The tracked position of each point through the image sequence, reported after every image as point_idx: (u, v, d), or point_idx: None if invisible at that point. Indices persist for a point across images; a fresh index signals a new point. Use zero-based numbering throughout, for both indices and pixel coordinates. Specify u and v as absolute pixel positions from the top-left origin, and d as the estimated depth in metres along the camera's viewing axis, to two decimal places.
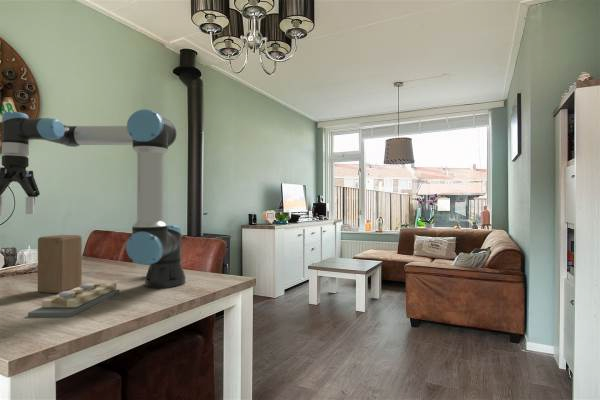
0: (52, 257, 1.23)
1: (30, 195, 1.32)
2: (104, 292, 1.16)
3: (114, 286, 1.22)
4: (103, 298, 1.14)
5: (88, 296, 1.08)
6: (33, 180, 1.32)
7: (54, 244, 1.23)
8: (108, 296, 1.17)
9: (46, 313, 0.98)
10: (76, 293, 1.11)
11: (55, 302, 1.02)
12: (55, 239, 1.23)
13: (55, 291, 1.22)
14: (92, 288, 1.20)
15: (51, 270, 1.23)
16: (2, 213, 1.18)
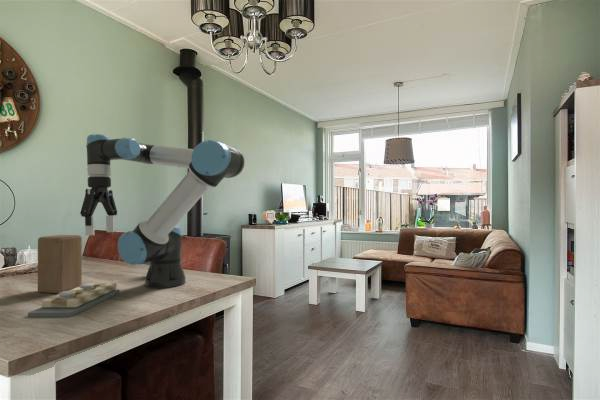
0: (53, 257, 1.23)
1: (110, 214, 1.37)
2: (104, 292, 1.16)
3: (114, 286, 1.22)
4: (103, 298, 1.14)
5: (88, 296, 1.08)
6: (112, 199, 1.36)
7: (54, 244, 1.23)
8: (108, 296, 1.17)
9: (46, 313, 0.98)
10: (76, 293, 1.11)
11: (55, 302, 1.02)
12: (55, 239, 1.23)
13: (55, 291, 1.22)
14: (92, 288, 1.20)
15: (51, 270, 1.23)
16: (93, 233, 1.23)
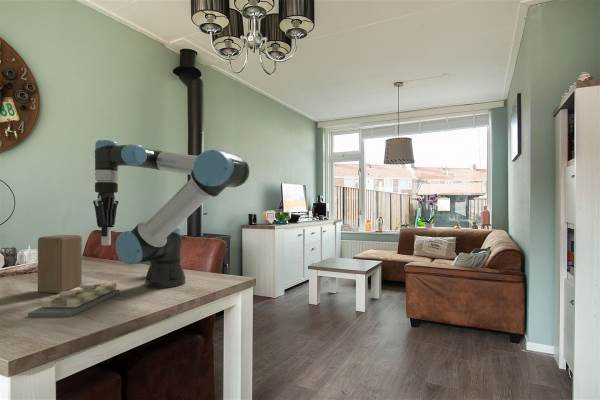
0: (52, 257, 1.23)
1: None
2: (104, 292, 1.16)
3: (114, 286, 1.22)
4: (103, 298, 1.14)
5: (88, 296, 1.08)
6: (115, 209, 1.34)
7: (54, 244, 1.23)
8: (108, 296, 1.17)
9: (46, 313, 0.98)
10: (76, 293, 1.11)
11: (55, 302, 1.02)
12: (55, 239, 1.23)
13: (55, 291, 1.22)
14: (92, 288, 1.20)
15: (51, 270, 1.23)
16: (109, 243, 1.30)
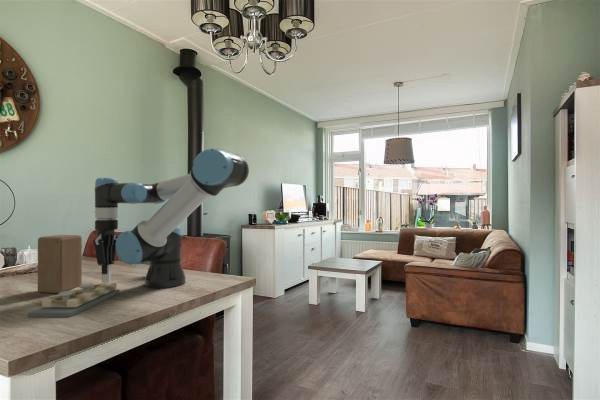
0: (53, 257, 1.23)
1: None
2: (104, 292, 1.16)
3: (114, 286, 1.22)
4: (103, 298, 1.14)
5: (88, 296, 1.08)
6: (115, 245, 1.34)
7: (54, 244, 1.23)
8: (108, 296, 1.17)
9: (46, 313, 0.98)
10: (76, 293, 1.11)
11: (55, 302, 1.02)
12: (55, 239, 1.23)
13: (55, 291, 1.22)
14: (92, 288, 1.20)
15: (51, 270, 1.23)
16: (109, 280, 1.29)
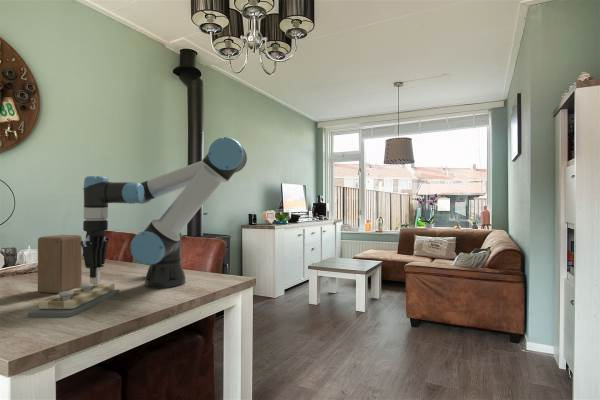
0: (53, 257, 1.23)
1: None
2: (102, 293, 1.15)
3: (112, 287, 1.21)
4: (103, 298, 1.14)
5: (85, 297, 1.06)
6: (105, 247, 1.28)
7: (54, 244, 1.23)
8: (108, 296, 1.17)
9: (46, 313, 0.98)
10: (73, 294, 1.10)
11: (52, 303, 1.00)
12: (55, 239, 1.23)
13: (55, 291, 1.22)
14: (90, 289, 1.19)
15: (51, 270, 1.23)
16: None
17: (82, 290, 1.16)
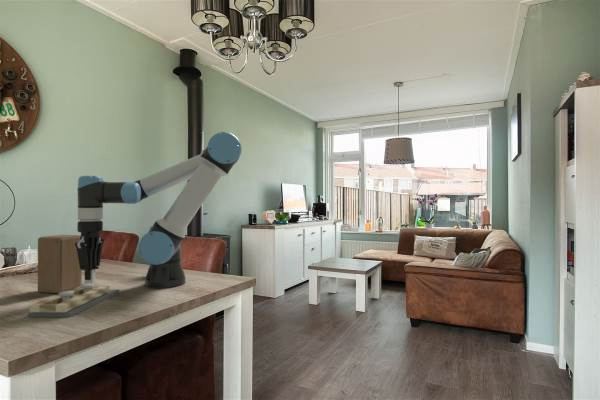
0: (52, 257, 1.23)
1: None
2: (96, 296, 1.12)
3: (106, 289, 1.18)
4: (103, 298, 1.14)
5: (79, 300, 1.03)
6: (100, 248, 1.24)
7: (54, 244, 1.23)
8: (108, 296, 1.17)
9: (46, 313, 0.98)
10: None
11: (43, 307, 0.97)
12: (55, 239, 1.23)
13: (55, 291, 1.22)
14: None
15: (51, 270, 1.23)
16: None
17: (76, 293, 1.12)
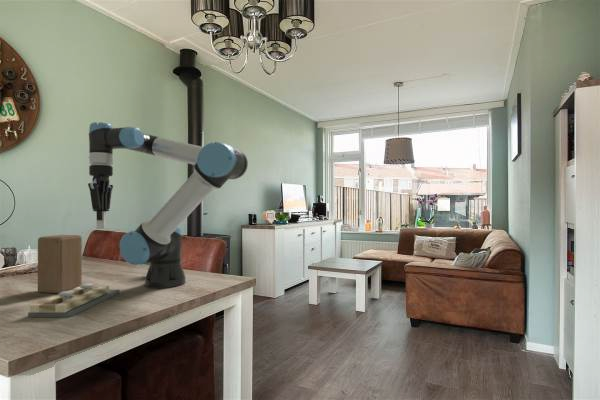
0: (53, 257, 1.23)
1: None
2: (96, 296, 1.12)
3: (106, 289, 1.17)
4: (103, 298, 1.14)
5: (78, 300, 1.03)
6: (110, 193, 1.33)
7: (54, 244, 1.23)
8: (108, 296, 1.17)
9: (46, 313, 0.98)
10: None
11: (43, 307, 0.97)
12: (55, 239, 1.23)
13: (55, 291, 1.22)
14: (83, 291, 1.15)
15: (51, 270, 1.23)
16: (104, 227, 1.28)
17: (75, 293, 1.12)
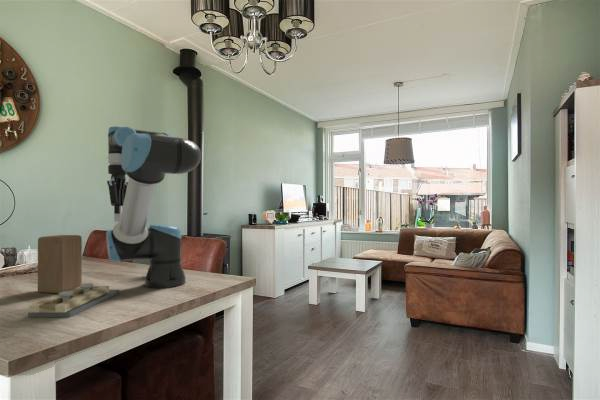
0: (53, 257, 1.23)
1: None
2: (96, 296, 1.12)
3: (106, 289, 1.17)
4: (103, 298, 1.14)
5: (78, 300, 1.03)
6: None
7: (54, 244, 1.23)
8: (108, 296, 1.17)
9: (46, 313, 0.98)
10: None
11: (43, 307, 0.97)
12: (55, 239, 1.23)
13: (55, 291, 1.22)
14: (83, 291, 1.15)
15: (51, 270, 1.23)
16: None
17: (75, 293, 1.12)
